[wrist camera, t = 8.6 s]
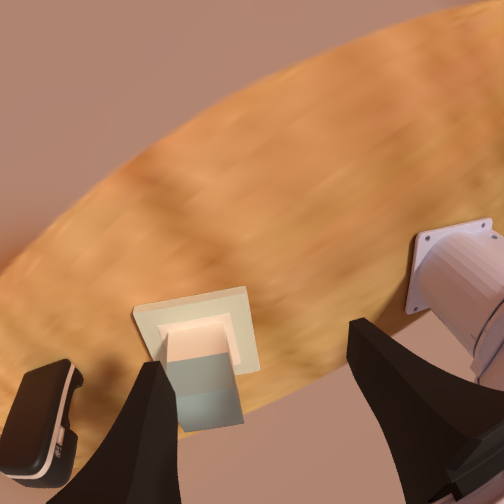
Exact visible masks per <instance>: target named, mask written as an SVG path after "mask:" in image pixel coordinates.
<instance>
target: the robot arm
mask: <svg viewBox="0 0 504 504" xmlns="http://www.w3.org/2000/svg"><path fill="white" fill-rule="evenodd" d="M492 223H493V221H492V219H491V218H484V219H479V220H475V221H470V222H466V223H461V224H457V225H452V226H448V227H443V228H438V229H434V230H429V231H425V232H421V233H419V234H418V235H417V236H416V240H415V248H414V256H413V264H412V271H411V278H410V284H409V290H408V296H407V302H406V307H405V312H406V313H407V314H408V315H410V314H413V313H416V312H419V311H422V310H425V309H428V308H430V309H431V310H432V311H433V312H434V313H435V315H436V316H437V317H438V318H439V319H440V320H441V321H442V322H443V323H444V325H445V326H446V327H447V328H448V329H449V330H450V331H451V333H452V334H453V335H454V336H455V337H456V338H457V339H458V341H459V342H460V343H461V344H462V345H463V346H464V348H465V349H466V350H467V351H468V352H469V353H470V355H471V356H472V357H473V358H474V360H473V362H472V364H471V366H470V369H471V370H472V371H473V372H474V373H475V375H476V378H475V380H474V383H472V382H469V381H467V380H464V379H462V378H459V377H457V376H455V375H452V374H450V373H448V372H445V371H444V370H442V369H440V368H438V367H436V366H434V365H432V364H430V363H428V362H427V361H425V360H423V359H422V358H420V357H419V356H417V355H415V354H414V353H412V352H411V351H409V350H408V349H406V348H405V347H404V346H402V345H401V344H399V343H398V342H396V341H395V340H394V339H392V338H391V337H390V336H388V335H387V334H386V333H384V332H383V331H381V330H380V329H379V328H378V327H376V326H375V325H374V324H372V323H371V322H370V321H368V320H367V319H365V318H364V317H363V318H360V319H356V320H352V321H350V322H349V335H348V346H347V356H346V358H347V360H348V363H349V366H350V368H351V371H352V373H353V376H354V378H355V380H356V382H357V384H358V386H359V387H360V389H361V391H362V393H363V395H364V397H365V398H366V400H367V402H368V404H369V405H370V407H371V409H372V411H373V413H374V414H375V416H376V418H377V420H378V422H379V424H380V426H381V428H382V431H383V433H384V436H385V438H386V440H387V443H388V445H389V448H390V451H391V454H392V457H393V460H394V463H395V465H396V469H397V472H398V475H399V478H400V482H401V485H402V489H403V493H404V497H405V501H406V504H504V237H503V236H501V235H500V234H498V233H497V232H495V231H494V230H492ZM426 237H427V238H426ZM425 238H426V239H425ZM177 437H178V414H177V403H176V393H175V391H174V389H173V387H172V385H171V383H170V381H169V379H168V377H167V375H166V373H165V371H164V368H163V366H162V364H161V362H160V361H152V362H145V363H144V364H143V366H142V368H141V370H140V372H139V375H138V377H137V379H136V381H135V383H134V386H133V388H132V390H131V392H130V394H129V396H128V398H127V400H126V402H125V404H124V406H123V408H122V410H121V412H120V414H119V415H118V417H117V419H116V421H115V422H114V424H113V426H112V428H111V429H110V431H109V433H108V434H107V436H106V437H105V439H104V440H103V442H102V443H101V445H100V446H99V448H98V449H97V450H96V452H95V453H94V454H93V456H92V457H91V458H90V460H89V461H88V462H87V463H86V465H85V466H84V467H83V468H82V469H81V470H80V471H79V472H78V474H77V475H76V476H75V477H74V478H73V479H72V480H71V481H70V482H69V483H68V484H67V485H66V486H65V487H64V488H63V489H62V490H60V491H59V492H58V493H57V494H56V495H55V496H54V497H53V498H51V499H50V500H49V501H47V502H46V504H181V497H180V490H179V482H178V475H177V474H178V473H177Z"/></svg>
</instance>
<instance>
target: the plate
mask: <svg viewBox="0 0 504 504" xmlns="http://www.w3.org/2000/svg"><path fill="white" fill-rule="evenodd" d="M133 316H134V318H135V320H136V323H137V325H138V327H139V330H140V332H141V334H142V337H143V339H144V341H145V343H146V345H147V348H148V350H149V352H150V354H151V356H152V358H153V361H160V362H161V364H162V366H163V368H164V371H165V373H166V369H167V347H168V332H172V331H178V330H184V329H190V328H196V327H201V326H207V325H212V324H218V323H224V327H225V331H226V335H227V339H228V343H229V347H230V351H231V355H232V359H233V364H234V370H235V375H241V374H246V373H251V372H256V371H260V365H259V360H258V354H257V348H256V343H255V337H254V331H253V325H252V319H251V313H250V308H249V302H248V296H247V291H246V287H245V286H240V287H235V288H230V289H225V290H220V291H214V292H209V293H204V294H198V295H193V296H188V297H182V298H177V299H171V300H166V301H160V302H154V303H149V304H143V305H137V306H134V310H133Z"/></svg>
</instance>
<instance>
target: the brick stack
mask: <svg viewBox="0 0 504 504" xmlns="http://www.w3.org/2000/svg"><path fill="white" fill-rule="evenodd" d="M166 375H167V377H168V379H169V381H170V383H171V385H172V387H173V389H174V391H175V393H176V403H177V414H178V422H179V423H180V425H181V427H182V428H183V430H184V432H192V431H199V430H207V429H213V428H220V427H226V426H232V425H238V424H243V423H244V420H243V414H242V409H241V404H240V398H239V392H238V387H237V381H236V376H235V370H234V364H233V359H232V355H231V351H230V347H229V343H228V339H227V335H226V331H225V327H224V323H218V324H212V325H207V326H201V327H196V328H190V329H184V330H178V331H172V332H168V347H167V369H166Z"/></svg>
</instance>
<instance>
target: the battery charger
mask: <svg viewBox="0 0 504 504" xmlns="http://www.w3.org/2000/svg"><path fill="white" fill-rule="evenodd" d="M82 384H83V377H82V375H81V373H80V372H79V371H78V370H77V369H76V367H75V365H74V364H73V363H72V362H70V361H69V360H67V359H63V360H60V361H57V362H54V363H51V364H49V365H46V366H43V367H40V368H38V369H35V370H32V371H30V372H27V373H25V374H24V376H23V379H22V381H21V384H20V387H19V389H18V392H17V395H16V397H15V400H14V402H13V404H12V407H11V410H10V412H9V415H8V417H7V420H6V423H5V426H4V429H3V432H2V435H1V438H0V471H1V472H2V474H4V475H5V476H7V477H9V478H12V479H13V480H15V481H16V482H18V483H20V484H21V485H23V486H26V487H32V488H33V487H34V488H59V487H62V486H63V485H65V484H66V483H67V482H68V481H69V479H70V476H71V473H72V468H73V464H74V459H75V454H76V448H77V440H78V436H77V435H76V434H75V433H74V432H73V431H72V430H70V429H69V427H70V423H69V418H68V413H69V408H70V403H71V398H72V395H73V392H74V390H75V389H76V388H78V387H81V386H82Z"/></svg>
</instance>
